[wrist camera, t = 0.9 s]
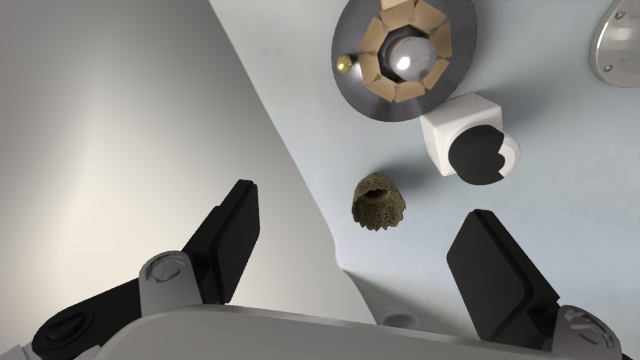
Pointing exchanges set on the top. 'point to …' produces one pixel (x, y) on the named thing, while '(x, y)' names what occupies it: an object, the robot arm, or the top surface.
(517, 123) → the top surface
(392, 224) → the cup
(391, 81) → the wrench
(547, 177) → the top surface
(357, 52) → the post base
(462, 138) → the medicine bottle
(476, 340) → the robot arm
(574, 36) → the top surface
